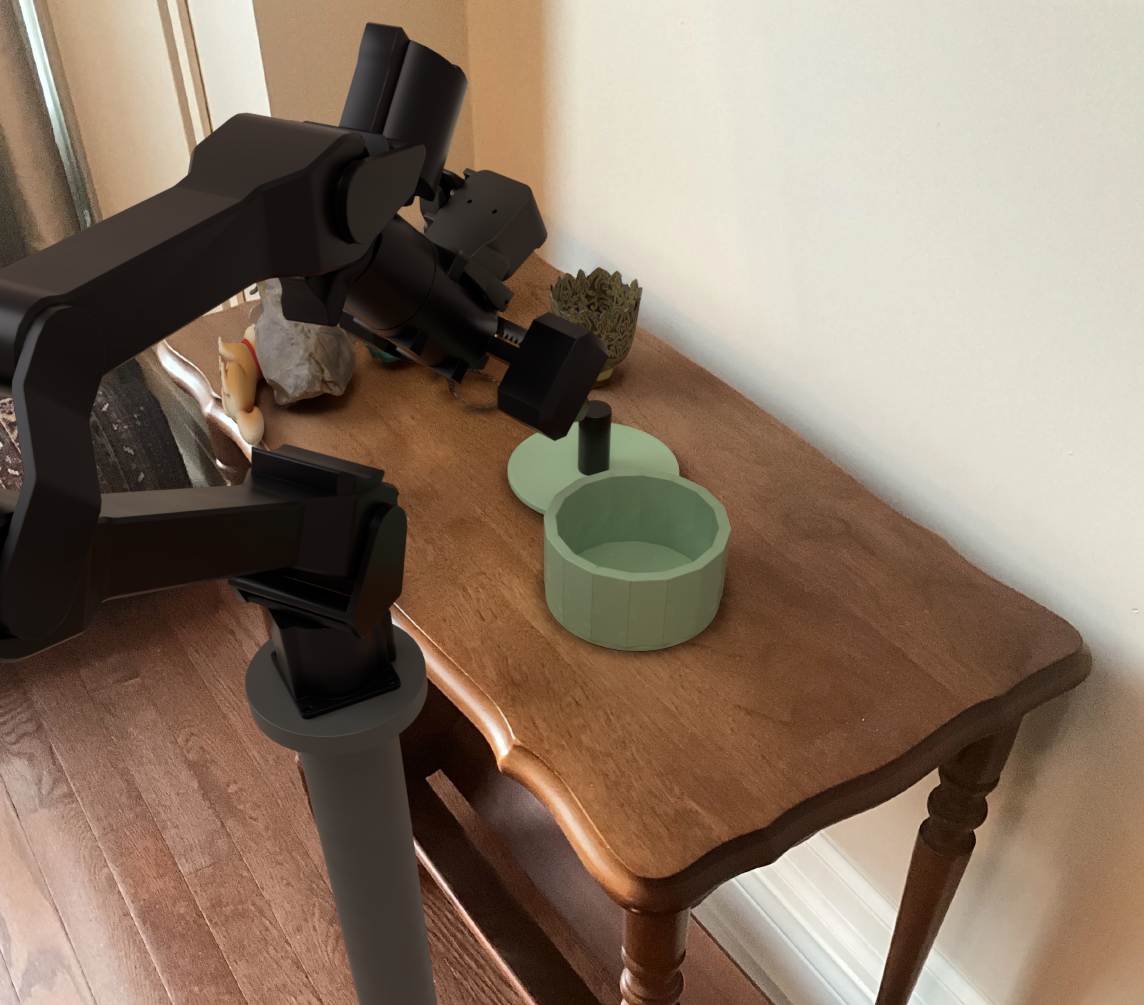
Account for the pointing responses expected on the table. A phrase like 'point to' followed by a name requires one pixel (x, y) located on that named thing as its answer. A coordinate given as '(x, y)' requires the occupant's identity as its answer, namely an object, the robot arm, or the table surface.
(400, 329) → the robot arm
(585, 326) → the cup
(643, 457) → the lid
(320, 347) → the stone
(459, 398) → the necklace
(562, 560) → the pot
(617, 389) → the table surface
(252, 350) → the toy
